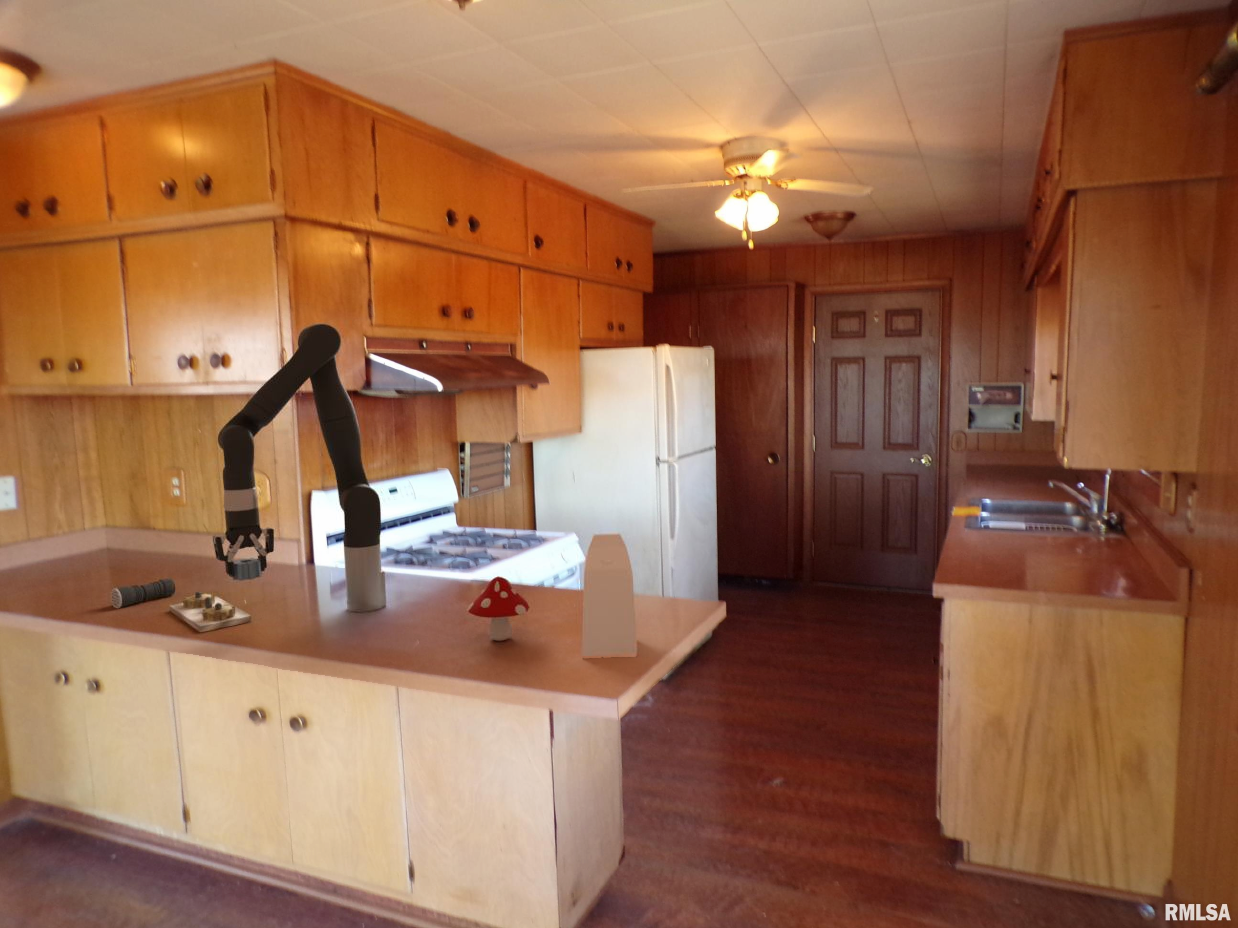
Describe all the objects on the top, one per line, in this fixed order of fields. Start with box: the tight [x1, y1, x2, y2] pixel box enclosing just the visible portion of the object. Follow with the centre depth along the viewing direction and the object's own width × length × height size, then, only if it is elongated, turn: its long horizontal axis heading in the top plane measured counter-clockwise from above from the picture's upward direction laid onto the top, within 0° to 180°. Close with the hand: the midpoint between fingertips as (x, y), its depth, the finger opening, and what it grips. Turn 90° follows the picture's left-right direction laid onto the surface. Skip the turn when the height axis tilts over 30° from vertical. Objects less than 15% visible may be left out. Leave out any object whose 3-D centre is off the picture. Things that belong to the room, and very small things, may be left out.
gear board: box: [169, 590, 252, 633], centre depth 213 cm, size 12×26×5 cm, turn 43°
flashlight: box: [110, 578, 176, 609], centre depth 228 cm, size 15×5×5 cm, turn 146°
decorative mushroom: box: [467, 576, 530, 642], centre depth 189 cm, size 14×14×15 cm
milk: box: [581, 533, 638, 657], centre depth 181 cm, size 12×12×26 cm
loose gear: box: [232, 557, 263, 581], centre depth 201 cm, size 7×7×4 cm
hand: (247, 573), depth 201 cm, fingers closed on loose gear, 6 cm apart
